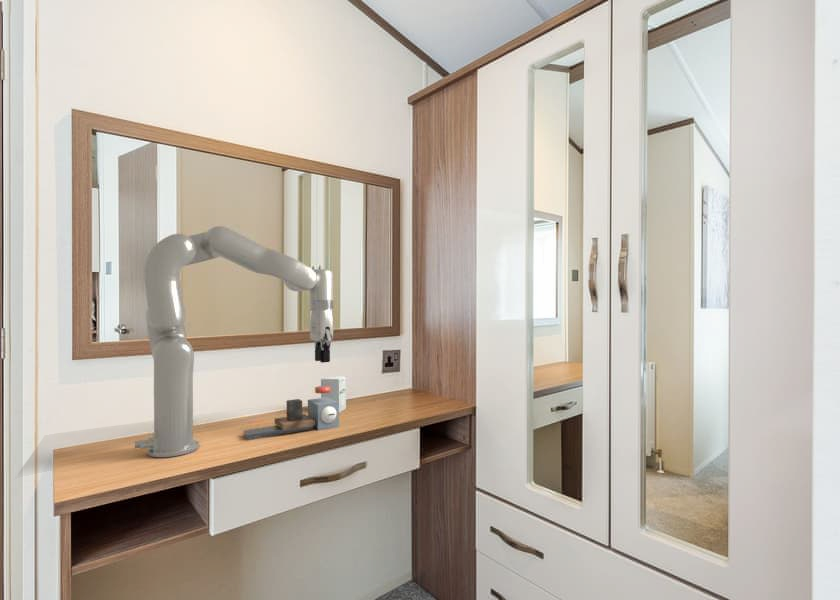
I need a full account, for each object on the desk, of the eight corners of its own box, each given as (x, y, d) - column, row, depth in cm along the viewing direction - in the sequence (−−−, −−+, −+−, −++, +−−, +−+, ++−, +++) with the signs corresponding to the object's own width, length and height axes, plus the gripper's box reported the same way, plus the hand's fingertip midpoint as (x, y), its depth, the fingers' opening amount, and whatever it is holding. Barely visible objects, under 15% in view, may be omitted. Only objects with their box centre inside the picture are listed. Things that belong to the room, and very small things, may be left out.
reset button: (318, 394, 145) (318, 389, 145) (312, 391, 149) (312, 387, 149) (332, 392, 148) (332, 387, 148) (327, 389, 152) (327, 385, 152)
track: (247, 440, 133) (247, 435, 133) (243, 435, 138) (243, 430, 138) (313, 429, 143) (313, 424, 143) (306, 425, 148) (306, 420, 148)
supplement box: (339, 413, 164) (339, 379, 164) (320, 412, 165) (320, 378, 166) (346, 408, 171) (346, 375, 171) (328, 408, 173) (328, 375, 173)
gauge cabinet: (318, 430, 142) (318, 405, 142) (307, 423, 151) (307, 399, 151) (339, 427, 146) (339, 402, 146) (327, 420, 154) (327, 397, 154)
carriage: (283, 430, 136) (283, 405, 136) (274, 423, 145) (274, 399, 145) (315, 425, 142) (314, 401, 142) (304, 418, 150) (304, 396, 150)
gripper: (302, 306, 154) (303, 359, 154) (319, 306, 140) (320, 365, 139) (323, 306, 158) (324, 358, 158) (342, 306, 144) (342, 363, 143)
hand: (322, 360), depth 148 cm, fingers open, 4 cm apart
